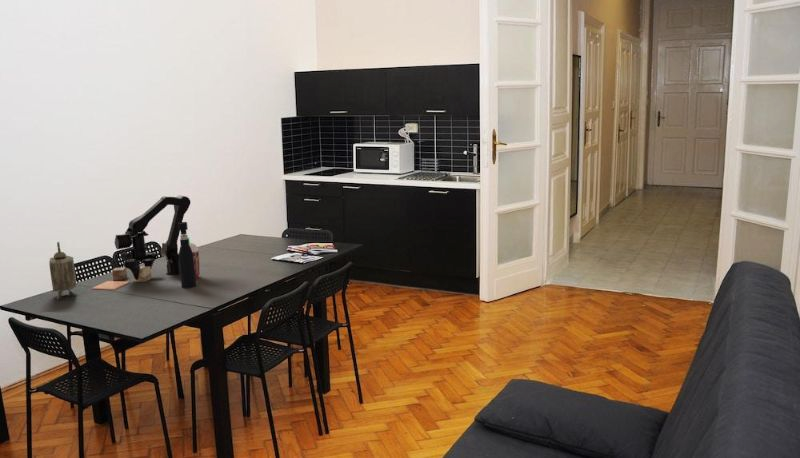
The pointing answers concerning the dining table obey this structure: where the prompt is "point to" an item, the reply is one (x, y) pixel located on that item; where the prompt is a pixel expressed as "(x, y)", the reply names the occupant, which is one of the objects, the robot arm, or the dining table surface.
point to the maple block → (144, 274)
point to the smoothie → (195, 258)
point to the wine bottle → (186, 259)
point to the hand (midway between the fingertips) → (142, 277)
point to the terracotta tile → (110, 285)
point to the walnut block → (119, 273)
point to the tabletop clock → (62, 272)
